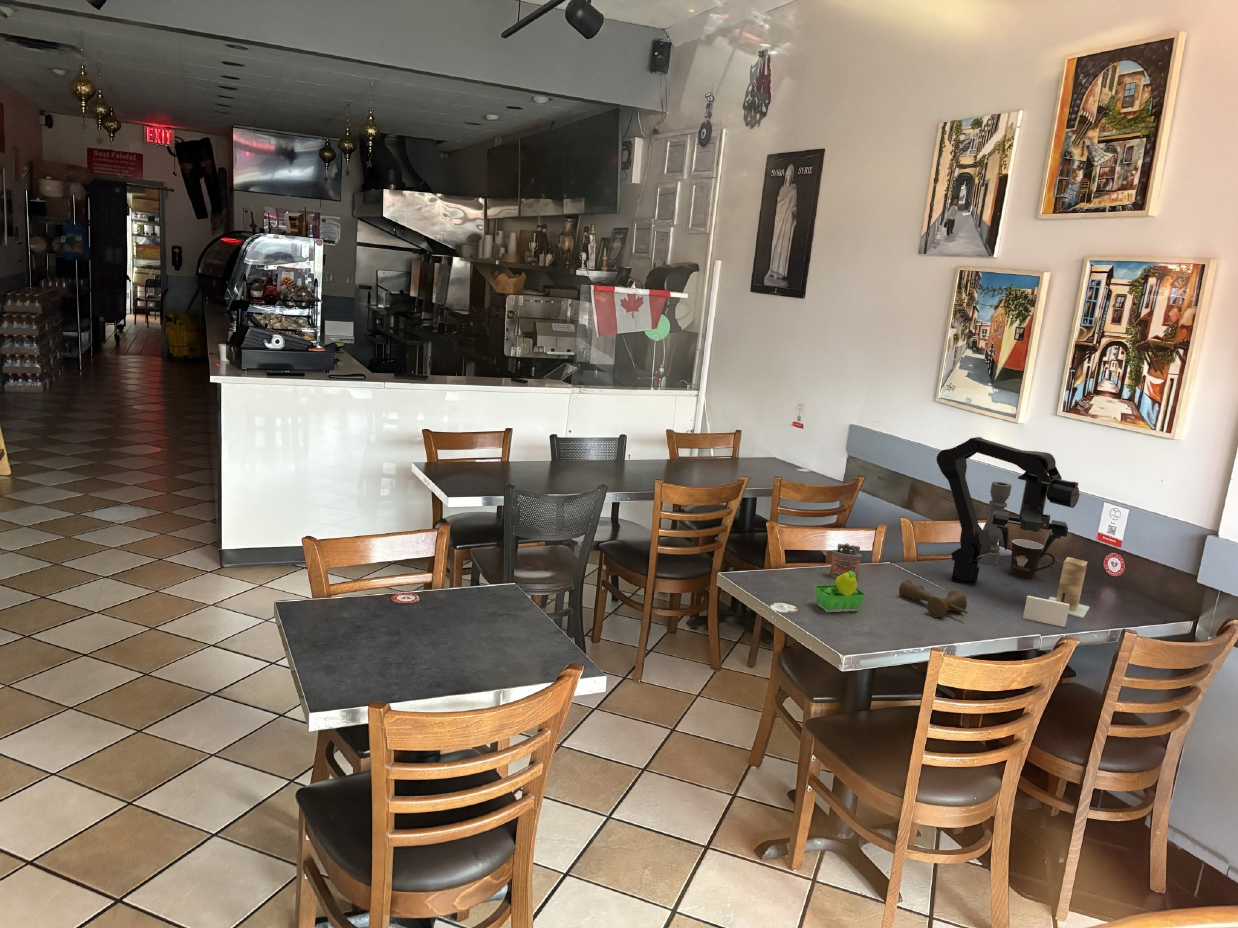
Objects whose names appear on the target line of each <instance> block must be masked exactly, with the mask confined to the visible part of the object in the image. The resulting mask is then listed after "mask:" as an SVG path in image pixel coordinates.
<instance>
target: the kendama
mask: <svg viewBox="0 0 1238 928" xmlns="http://www.w3.org/2000/svg"><path fill="white" fill-rule="evenodd" d="M898 595H899V596H900V597H901V598H911V599H912V601H914V602H918V601H924V602H927V604H926V609H927V611H928V614H930V613H931V614H932V615H934V616H937V617H940V618H939V619H941V618H943V617H944V616H945V615H946V613H947V611H952V612H953V613H956V612H957V614H961V613H964V614H969V612H968V611H967V610H966V609H967V606H968V601H967V598H966V595H965V594H964V593H963V592H961V591H959V590H956V589H953V590H949V591H948V593H947V595H946V597H945V598H942V597H939V596H935V595H933V594H931V593H929V592H928V591H926V590H925V589H924V587H923V585H915V584H914V583H913V581H912V580H910V579H905V580H903V581H901V583H900V584H899V588H898ZM931 614H930V615H931ZM932 615H931V616H932ZM934 616H933V617H934Z"/></svg>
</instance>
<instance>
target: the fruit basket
mask: <svg viewBox="0 0 1238 928" xmlns="http://www.w3.org/2000/svg"><path fill="white" fill-rule="evenodd" d="M857 582H858V581H856V574H855V573H854V572H852V571H848V572H847V573H844V574H842V575H840V576H838V577H837V578H835V580H834V583H835V584H821V585H820V584H819V585H818V584H817V585H816V584H815V585H814V587H813V588H814V593H815V599H816V604H817V603H818V604H820V605H821V606H822V607H824V608H825V609H827V610H833V609H858V610H859V608H860V607H861V604H862V602H863V600H864V599H865V597H866V593H864V592H863V591H862V590H861V589H859V588H857V587H858V583H857Z"/></svg>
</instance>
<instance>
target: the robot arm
mask: <svg viewBox="0 0 1238 928" xmlns="http://www.w3.org/2000/svg"><path fill="white" fill-rule="evenodd" d="M976 454H979V455H980V454H981V455H984V456H987V457H991V458H993V459H997V460H1001V461H1004V462H1006V463H1009V464H1013V465H1015V466H1017V467H1018V468H1020V470H1022V471H1024V473H1023V474H1021V475H1018V476H1017V479H1018V480H1020V481H1021V480H1022V481H1025V483H1024V490H1023V493H1022V494H1023V495H1022V500H1021V504H1020V510H1019V515H1018V516H1017V517H1016V516H1010V512H1008V511H1004V512H1003V511H997V510H996V511H995V512H994V513H993V518H992V524H995V525H997V526H996V527H997V528H1000V529H1001V532H1002V535H1003V537H1002V539H1003V546H1004V550H1005V551H1007V549H1008V543H1009V542H1008V541H1009V540H1008V539H1009V538H1008V536H1009V524H1013V525H1018V526H1019V528H1020V530H1022V531H1031V532H1034V533H1039V532H1040V530H1041V529H1042V530H1047V534H1046V537H1045V540H1044V543H1043V549H1042V553H1041V557H1042V558H1043V557H1044V556H1045V555H1044V554H1045V553H1047V551H1048V549H1049V547H1050V546H1051V545H1052V543H1053V542H1054V541H1055V540H1057V539H1061V538H1062V537H1067V536H1068V532H1069V525H1068V524H1067V522H1066V521H1061V520H1060V521H1059V520H1055V519H1052V520H1051V515H1049V514H1046V513H1045V514H1044V511H1045V506H1046V502H1047V501H1049V503H1051V504H1055V505H1059V506H1061V507H1062V506H1063V507H1067V508H1071V509H1074V508H1075V507H1076V506H1077V504H1078V501H1079V498H1080V489H1079V482H1078V481H1077V482H1076V481H1069V480H1065V479H1062V477H1063V476H1061V474H1060V472H1059V470H1058V468H1057V465H1056V463H1057V462H1056V459H1055V457H1054V455H1053V454H1052V453H1049V452H1045V451H1037V450H1036V451H1035V450H1022V449H1019V448H1015V447H1012V446H1010V445H1009V446H1008V445H1006V444H1002V443H998V442H996V441H991V440H989V439H985V438H983V437H981V436H977V437H970V438H968V439H967V440H966V441H964V442H962V443H960V444H958V445H956V446H954V447H952V448H946V449H942V450H940V451H939V452H938V454H937V455H936V463H937V465H938V468H939V470H940V472H941V474H942V475H943V476H944V477H945V478H946V480H947V482H948V485H949V488H950V492H951V495H952V499H953V502H954V506H955V509H956V514H957V517H958V520H959V521H958V522H959V525H960V528H961V529H960V537H959V544H960V547H958V548H957V549H956V550H954V551H953V552H951V553H950V554H951V559H952V561H954V562H953V568H952V573H951V577H950V581H952V582H957V583H961V584H967V585H972V586H975V584H976V583H977V582H978V577H979V574H980V573H979V572H980V565H978V564H979V561H978V560H981V558H982V557H983V556H984V555H986V554H987V553H988V552H989V551H990V549H991V545H990V544H991V543H992V541H991V540H990V538H989V532H988V530H984V531H983V528H982V527H981V525H979V521H978V518H977V515H976V511H975V508H974V503H973V500H972V497H971V492H970V489H969V485H968V482H967V478H966V474H967V468H968V467H967V466H968V465H967V460H968V459H969V458H971V457H973V456H974V455H976ZM1046 499H1047V501H1046ZM1050 521H1051V522H1050Z"/></svg>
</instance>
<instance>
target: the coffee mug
mask: <svg viewBox="0 0 1238 928" xmlns="http://www.w3.org/2000/svg"><path fill="white" fill-rule="evenodd" d="M1011 543H1012V545H1011V557H1010V572H1009V573H1010V575H1011V576H1012V577H1015V578H1017V577H1018V579H1020V578H1024V579H1023V580H1027V579H1030V580H1033V579H1034V577H1035V575H1036V572H1037V571H1041V570H1045V569H1047V568H1050V567H1051V566H1053V565H1054V564H1055V562H1056V558H1055V556H1054V555H1053V554H1051V553H1049V552H1045V554H1044V556H1049V557H1050V558H1052V562H1051V563H1050V564H1049V565H1048V564H1047V565H1045V566H1041V567H1038V565H1039V563H1040V560H1041V559H1042V558H1043V557H1041V553H1042V549H1043V546H1044V544H1041V543H1040V542H1036V541H1032V540H1029V539H1020V538H1018V539H1013V540H1011ZM1032 578H1033V579H1032Z"/></svg>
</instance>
